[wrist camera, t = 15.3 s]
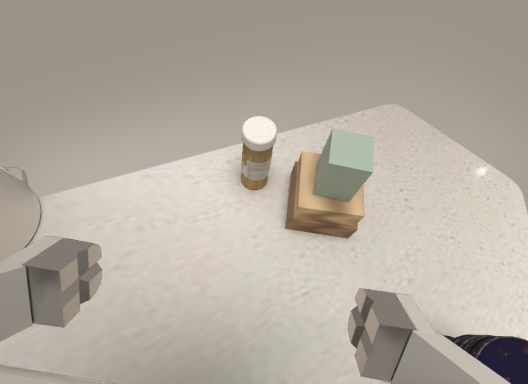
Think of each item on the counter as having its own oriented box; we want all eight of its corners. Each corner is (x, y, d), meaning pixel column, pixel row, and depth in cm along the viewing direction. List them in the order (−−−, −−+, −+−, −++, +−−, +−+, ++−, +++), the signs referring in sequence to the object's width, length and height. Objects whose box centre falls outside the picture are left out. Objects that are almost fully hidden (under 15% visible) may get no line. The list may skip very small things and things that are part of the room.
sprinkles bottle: (244, 165, 50) (245, 111, 38) (269, 170, 50) (279, 118, 38) (238, 188, 48) (238, 139, 36) (265, 193, 48) (274, 146, 36)
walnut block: (285, 229, 46) (289, 219, 42) (290, 175, 50) (295, 161, 46) (346, 238, 46) (357, 229, 42) (347, 184, 50) (356, 171, 46)
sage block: (312, 194, 39) (328, 163, 32) (316, 164, 42) (332, 128, 34) (348, 202, 39) (372, 172, 32) (350, 171, 41) (373, 137, 34)
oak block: (293, 217, 42) (298, 206, 38) (297, 165, 46) (302, 151, 42) (353, 226, 42) (364, 216, 39) (352, 173, 46) (362, 160, 43)
